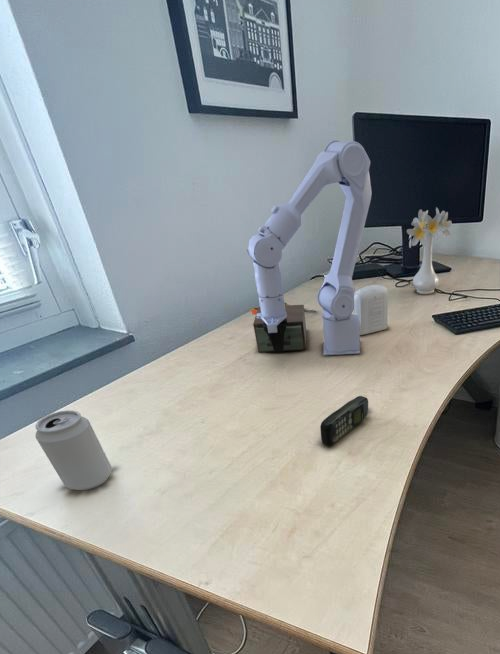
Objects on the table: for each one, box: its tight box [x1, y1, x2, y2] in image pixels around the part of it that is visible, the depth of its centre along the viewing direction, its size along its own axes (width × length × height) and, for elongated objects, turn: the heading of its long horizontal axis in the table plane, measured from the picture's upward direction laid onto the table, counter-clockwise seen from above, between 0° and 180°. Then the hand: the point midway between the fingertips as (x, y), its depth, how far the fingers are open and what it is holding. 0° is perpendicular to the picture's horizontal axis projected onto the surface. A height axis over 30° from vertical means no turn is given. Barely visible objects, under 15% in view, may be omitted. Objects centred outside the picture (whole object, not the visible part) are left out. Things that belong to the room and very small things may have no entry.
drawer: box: [256, 325, 303, 351], centre depth 115 cm, size 17×11×6 cm
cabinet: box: [252, 304, 308, 353], centre depth 118 cm, size 14×13×8 cm
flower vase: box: [406, 206, 453, 295], centre depth 145 cm, size 13×18×25 cm
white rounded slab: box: [353, 284, 389, 336], centre depth 122 cm, size 10×4×12 cm, turn 123°
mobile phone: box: [319, 395, 369, 447], centre depth 84 cm, size 5×3×15 cm
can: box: [34, 409, 113, 491], centre depth 71 cm, size 8×8×12 cm
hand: (279, 350), depth 108 cm, fingers closed, pressing on drawer
